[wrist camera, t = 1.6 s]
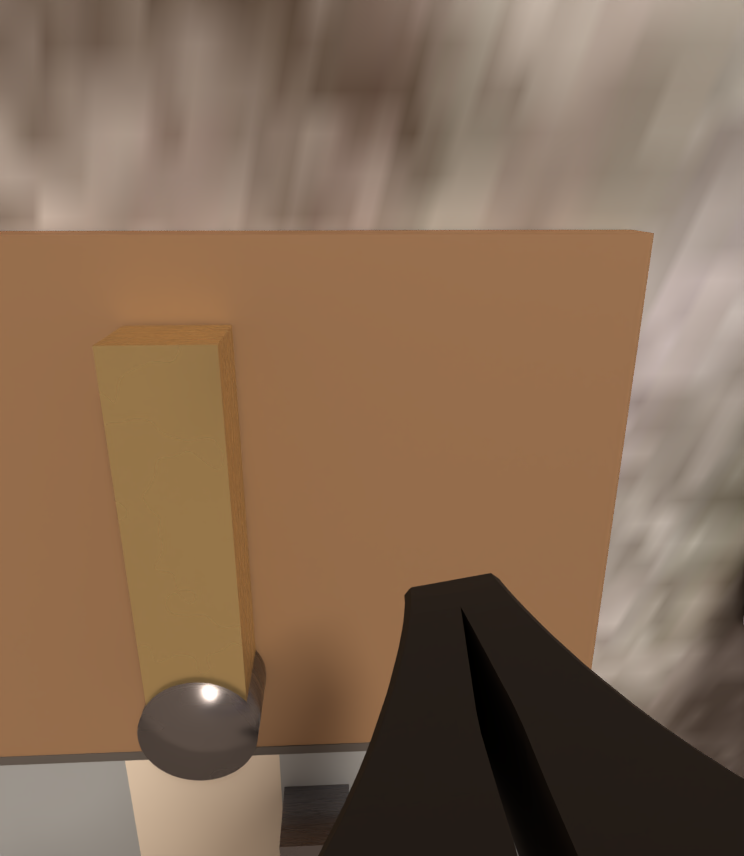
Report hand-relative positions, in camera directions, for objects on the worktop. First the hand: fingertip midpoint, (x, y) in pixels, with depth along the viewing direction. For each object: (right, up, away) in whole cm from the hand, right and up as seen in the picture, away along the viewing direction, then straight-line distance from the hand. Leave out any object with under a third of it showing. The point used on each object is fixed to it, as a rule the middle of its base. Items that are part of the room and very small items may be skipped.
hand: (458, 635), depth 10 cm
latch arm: (-6, 0, +7) cm, 9 cm away
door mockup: (-6, -5, +11) cm, 13 cm away
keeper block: (-3, -10, +11) cm, 15 cm away
